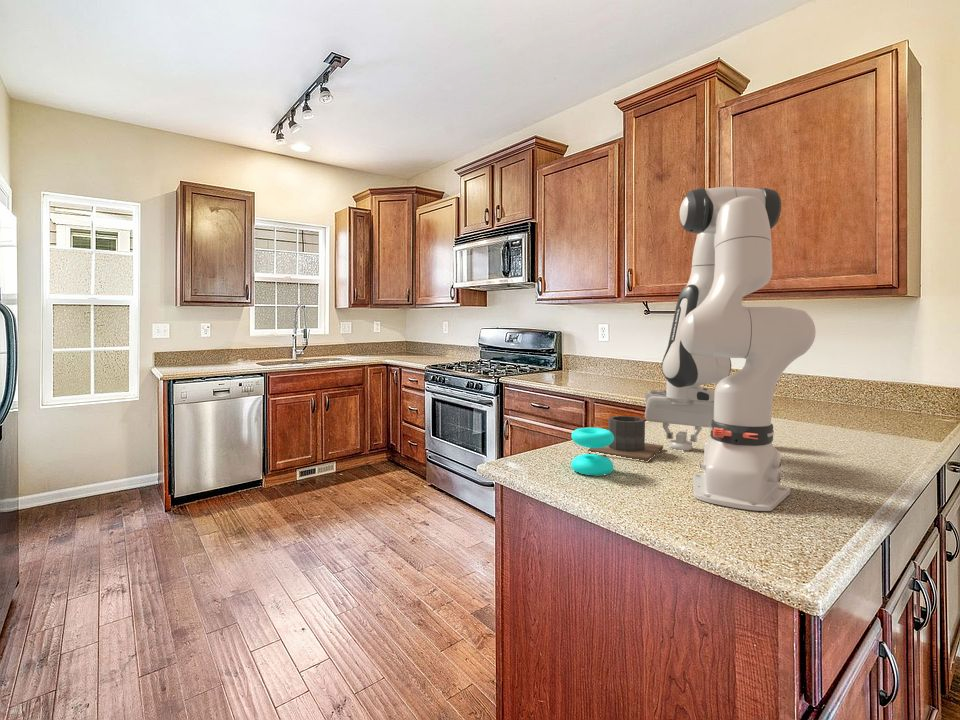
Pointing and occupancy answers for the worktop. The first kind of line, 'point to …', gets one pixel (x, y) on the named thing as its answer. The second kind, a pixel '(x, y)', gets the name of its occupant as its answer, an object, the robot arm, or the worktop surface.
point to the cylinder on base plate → (629, 439)
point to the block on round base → (681, 442)
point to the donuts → (592, 462)
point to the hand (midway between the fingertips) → (681, 440)
